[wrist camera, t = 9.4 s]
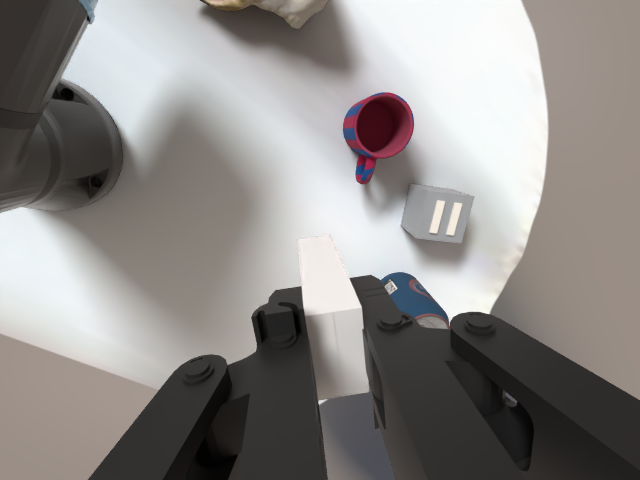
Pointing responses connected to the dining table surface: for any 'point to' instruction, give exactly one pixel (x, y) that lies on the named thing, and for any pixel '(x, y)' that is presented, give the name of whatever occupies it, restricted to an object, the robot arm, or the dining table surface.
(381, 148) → the mug
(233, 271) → the dining table surface
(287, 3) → the ceramic sculpture
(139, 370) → the dining table surface
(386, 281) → the soda can
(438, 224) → the slate numbered block
